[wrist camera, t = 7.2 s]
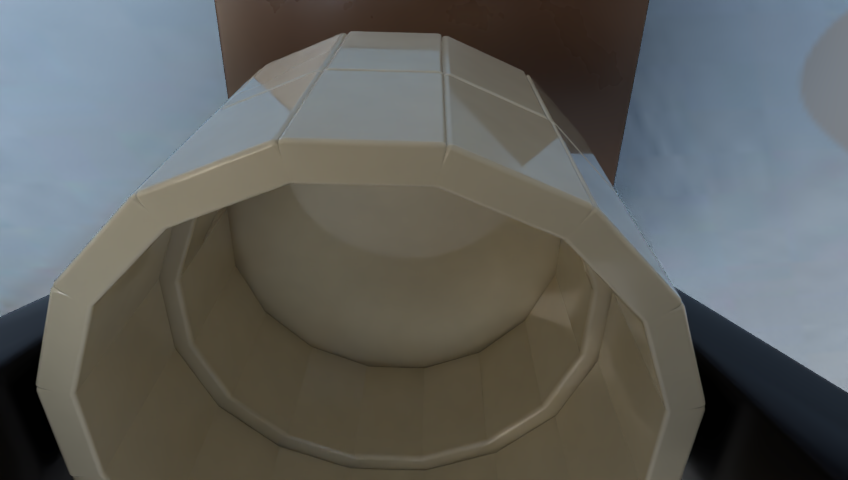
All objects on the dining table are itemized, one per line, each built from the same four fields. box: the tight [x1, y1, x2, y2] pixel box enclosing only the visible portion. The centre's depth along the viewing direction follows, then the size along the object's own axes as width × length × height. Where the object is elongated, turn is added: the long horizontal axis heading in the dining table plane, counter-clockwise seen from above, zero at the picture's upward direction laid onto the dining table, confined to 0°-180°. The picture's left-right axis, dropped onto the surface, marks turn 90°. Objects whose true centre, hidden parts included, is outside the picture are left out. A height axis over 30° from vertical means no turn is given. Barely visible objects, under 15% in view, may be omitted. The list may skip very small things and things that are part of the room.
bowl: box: [36, 31, 705, 480], centre depth 9 cm, size 7×7×5 cm
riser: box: [214, 0, 649, 186], centre depth 17 cm, size 10×10×4 cm
